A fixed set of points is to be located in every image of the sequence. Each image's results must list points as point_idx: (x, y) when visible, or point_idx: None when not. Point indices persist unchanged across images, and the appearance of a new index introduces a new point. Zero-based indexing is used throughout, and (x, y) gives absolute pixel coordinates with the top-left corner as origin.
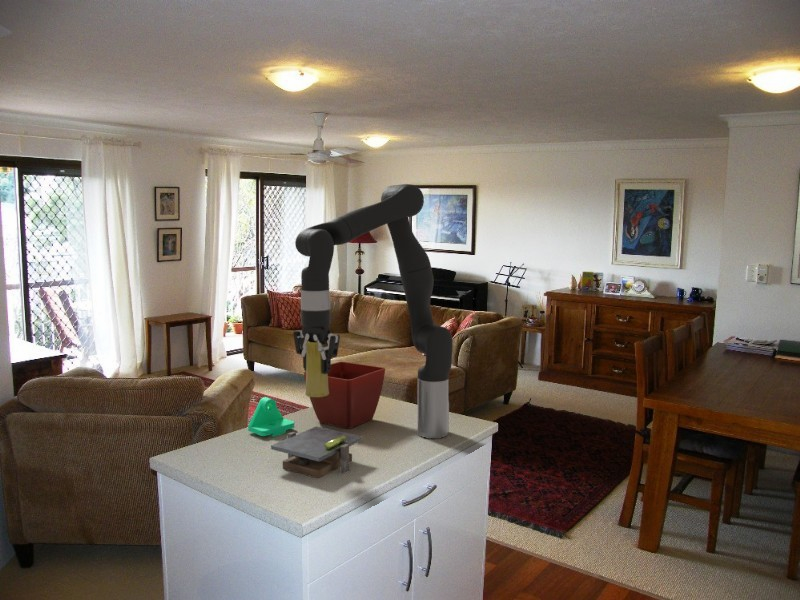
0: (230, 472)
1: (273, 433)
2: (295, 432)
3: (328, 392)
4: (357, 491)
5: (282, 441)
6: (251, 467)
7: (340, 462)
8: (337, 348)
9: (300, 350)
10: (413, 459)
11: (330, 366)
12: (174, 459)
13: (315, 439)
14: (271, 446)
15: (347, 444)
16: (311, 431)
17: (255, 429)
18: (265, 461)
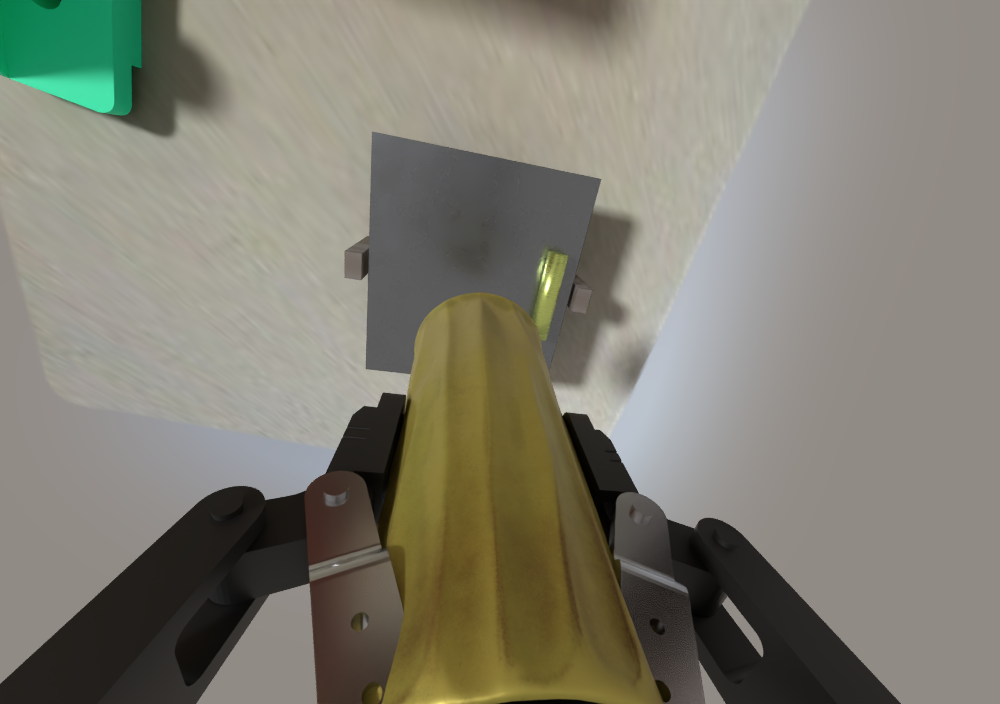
0: (306, 390)
1: (131, 62)
2: (360, 254)
3: (538, 335)
4: (629, 362)
5: (372, 329)
6: (325, 348)
7: None
8: (813, 629)
9: (262, 594)
10: (728, 98)
11: (618, 459)
12: (103, 384)
13: (459, 273)
14: (368, 367)
15: (586, 289)
16: (395, 202)
17: (55, 94)
18: (325, 300)
